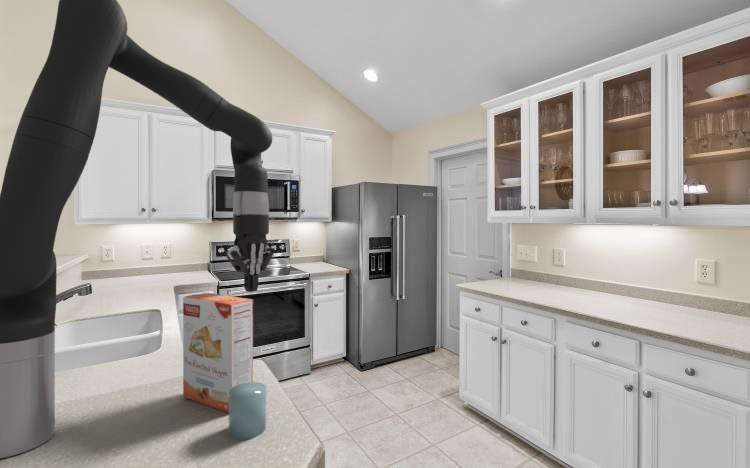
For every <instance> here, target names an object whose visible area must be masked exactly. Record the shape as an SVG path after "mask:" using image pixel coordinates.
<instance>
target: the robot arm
mask: <svg viewBox="0 0 750 468" xmlns="http://www.w3.org/2000/svg"><path fill="white" fill-rule="evenodd" d="M57 5H58V6H57V11H56V12H57V13H56V19H55V25H54V30H53V35H52V36H53V37H52V41H51V43H50V44H51V45H50V49H49V52H48V56H47V58H46V61H45V63H44V65H43V67H42V68H41V71H40V73H39V74H38V77H37V79H36V80H35V83H34V86H33V87H32V90H31V93H30V95H29V98H28V100H27V103H26V105H25V106H24V109H23V112H22V114H21V117H20V120H19V122H18V125H17V129H16V132H15V134H14V138H13V141H12V145H11V148H10V152H9V156H8V160H7V163H6V166H5V171H4V175H3V180H2V185H1V188H0V189H1V190H0V459H4V458H8V457H9V458H10V457H13V456H16V455H19V454H22V453H26V452H28V451H30V450H33V449H35V448H36V447H39V446H41V445H43V444H44V443H46V442H47V441H49V440H50V439H51V438H52V437H53V436H54V435H55V430H56V428H55V427H56V425H55V424H56V412H55V411H56V410H55V409H56V406H55V405H56V401H55V399H56V395H55V394H56V391H55V389H56V387H55V385H56V382H55V379H56V378H55V377H56V373H55V372H56V371H55V369H56V365H55V364H56V361H55V359H56V358H55V357H56V354H55V349H56V346H55V345H56V344H55V343H56V340H55V337H56V335H55V334H56V333H55V332H56V330H55V329H56V328H55V327H56V325H55V324H56V311H57V270H58V268H57V259H56V257H57V256H56V253H55V252H54V247H55V242H56V236H57V231H58V227H59V223H60V219H61V215H62V213H63V210H64V208H65V206H66V204H67V202H68V200H69V198H70V196H71V195H72V194H73V191H74V189H75V188H76V186H77V185H78V182H79V181H80V178H81V175H82V174H83V172H84V169H85V167H86V165H87V162H88V161H89V160H88V158H89V156H90V153H91V150H92V147H93V144H94V140H95V137H96V133H97V128H98V125H99V124H98V123H99V118H100V112H101V105H102V96H103V88H104V84H105V83H104V81H105V78H106V75H107V73H108V70H109V69H113V70H114V71H116V72H118V73H120V74H122V75H124V76H125V77H127V78H129V79H131V80H133V81H135V82H136V83H138V84H140V85H141V86H143V87H144V88H147V89H148V90H150V91H152V92H153V93H155V94H156V95H158V96H160V97H161V98H163V99H164V100H165V101H167V102H169V103H170V104H172V105H173V106H175V107H176V108H178V109H179V110H180V111H182V112H184V113H185V114H186V115H188V116H189V117H191V118H192V119H194V120H195V121H196V122H198V123H200V124H201V125H202V126H204V127H206V128H207V129H209V130H211V131H214V132H221V133H223V134H225V135H227V136H228V137H230V152H231V153H230V154H231V159H232V164H233V165H232V166H233V168H234V176H233V178H234V184H233V185H234V188H233V189H234V195H233V199H232V204H233V205H232V208H233V209H232V217H233V218H232V225H233V226H232V228H233V229H232V233H233V235H235V239H234V241H233V246H232V248H231V249H230V250H229V249H227V250H225V251H224V255H225V256H226V258H227V260H228V261H229V263H230V264H231V266H232V267H233V268H234V270H235V271H236V273H241V274H243V276H244V277H243V279H244V280H243V282H244V283H243V284H244V285H243V287H244V290H245V291H246V292H248V293H252V292H253V293H254V292H257V291H258V288H259V274H260V273H261V272H262V271H266V269H267V267H268V265H269V264H270V261H271V259H272V258H273V256H274V254H275V252H276V251H275V248H274V247H270V246H269V245H268V239H267V235H268V234H269V232H270V206H269V205H270V203H269V202H270V201H269V196H268V195H269V193H268V192H269V191H268V190H269V189H268V188H269V183H268V181H269V177H268V172H267V169H266V168H265V167H263V161H262V153H264V152H266V151H268V149H269V148H270V147H271V145H272V144H273V143H272V142H273V134H272V132H271V129H270V128H269V126H268V125H267V124H266V123H265V122H264V121H263V120H261V119H260V118H259V117H257V116H256V115H253V114H252V113H251V112H248V111H246V110H244V109H242V108H240V107H239V106H236V105H234V104H232V103H230V102H229V101H228V100H226V99H225V98H224V97H222V96H221V95H220V94H218V93H217V91H214V90H213V89H212V88H210V87H209V86H208V85H207V84H205V83H204V82H202V81H201V80H199V79H197V78H196V77H195V76H193V75H190V74H188V73H186V72H184V71H182V70H180V69H179V68H175V67H173V66H171V65H170V64H167V63H165V62H164V61H162V60H160V59H158V58H157V57H155V56H153V55H152V54H151V53H149V52H148V51H147V50H145V49H144V48H143V47H141V46H140V45H139V44H138V43H137V42H135V41H134V39H132V38H131V37H130V36H129V34H128V21H127V17H126V15H125V11H124V10H123V8H122V6H121V5H120V3H119V2H118V0H59V1H58V4H57Z"/></svg>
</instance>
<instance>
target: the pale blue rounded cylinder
mask: <svg viewBox="0 0 750 468" xmlns="http://www.w3.org/2000/svg"><path fill="white" fill-rule="evenodd" d="M266 416H267V387H266V385H265V384H264V383H263V382H259V381H258V382H257V381H253V382H248V383H242V384H239V385H236V386H234V387H233V388H231V389H230V391H229V413H228V435H229V436H230V438H232V439H234V440H239V441H245V440H249V439H250V440H251V439H254V438H257V437H258V436H259V437H260V435H262V434H264V432H265V431H266V428H267V426H266V424H267V421H266V420H267V419H266V418H267V417H266Z"/></svg>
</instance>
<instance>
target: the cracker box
mask: <svg viewBox="0 0 750 468" xmlns="http://www.w3.org/2000/svg"><path fill="white" fill-rule="evenodd" d="M182 300H183V301H182V308H183V310H182V311H183V312H182V314H183V315H182V316H183V317H182V321H183V322H182V325H183V326H182V327H183V329H182V330H183V331H182V332H183V334H182V335H183V336H182V337H183V338H182V343H183V345H182V347H183V349H182V350H183V351H182V355H183V356H182V359H183V361H182V362H183V368H182V370H183V371H182V374H183V375H182V377H183V383H182V384H183V385H182V387H183V388H182V389H183V390H182V391H183V394H182V395H183V398H186V399H189V400H192V401H194V402H198V403H200V404H203V405H205V406H209V407H211V408H214V409H216V410H220V411H222V412H225V413H228V414H229V391H230V389H231V388H233V387H234V386H236V385H239V384H242V383H248V382H254V377H253V376H254V375H253V374H254V373H253V372H254V363H253V362H254V360H253V359H254V354H253V353H254V351H253V350H254V348H253V347H254V300H253V299H252V298H246V297H244V298H243V297H237V296H232V295H231V296H230V295H225V294H218V293H210V292H204V293H203V292H202V293H197V294H190V295H186V296H184V297H183V298H182Z"/></svg>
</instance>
